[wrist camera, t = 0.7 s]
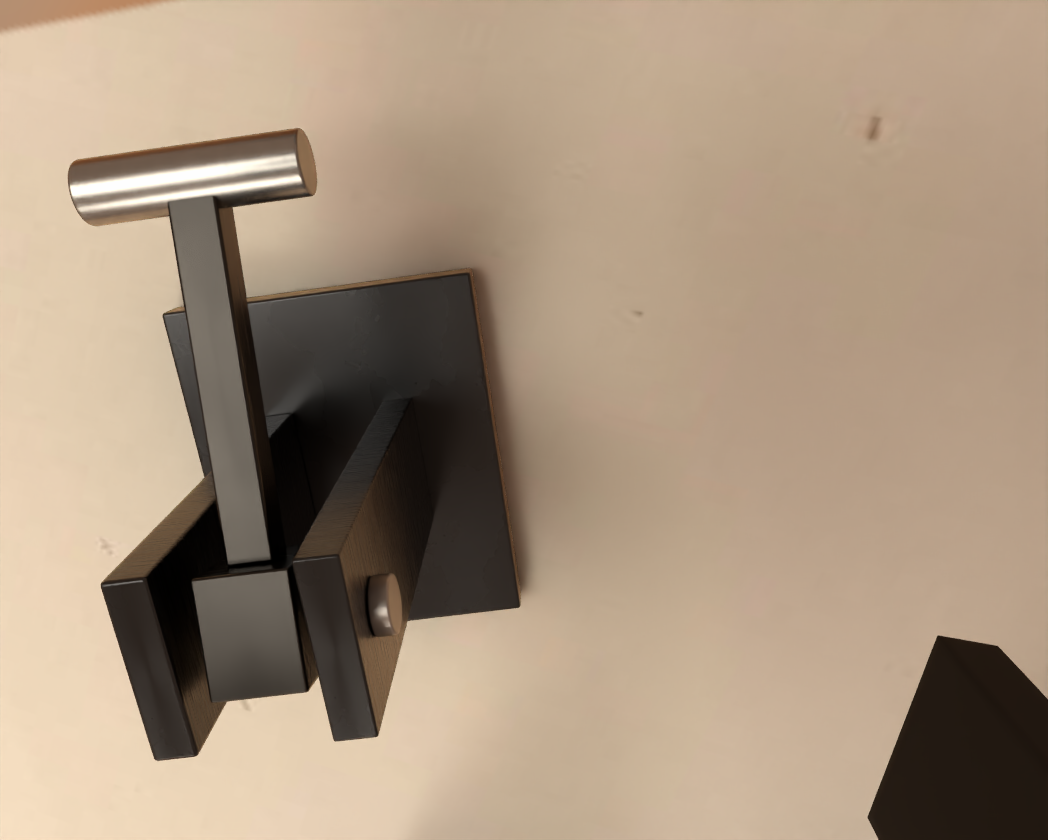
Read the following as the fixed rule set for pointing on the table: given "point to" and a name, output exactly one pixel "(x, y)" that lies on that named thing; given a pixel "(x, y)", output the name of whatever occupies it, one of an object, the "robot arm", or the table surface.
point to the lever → (224, 387)
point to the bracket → (338, 497)
